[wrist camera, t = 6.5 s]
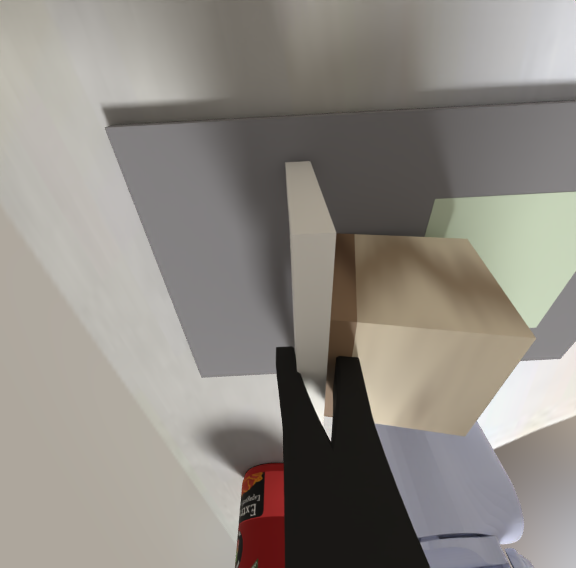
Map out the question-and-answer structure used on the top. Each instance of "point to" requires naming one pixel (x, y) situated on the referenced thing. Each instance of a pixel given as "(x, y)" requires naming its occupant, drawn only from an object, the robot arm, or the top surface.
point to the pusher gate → (310, 277)
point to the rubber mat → (353, 210)
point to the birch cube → (422, 329)
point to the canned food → (262, 518)
